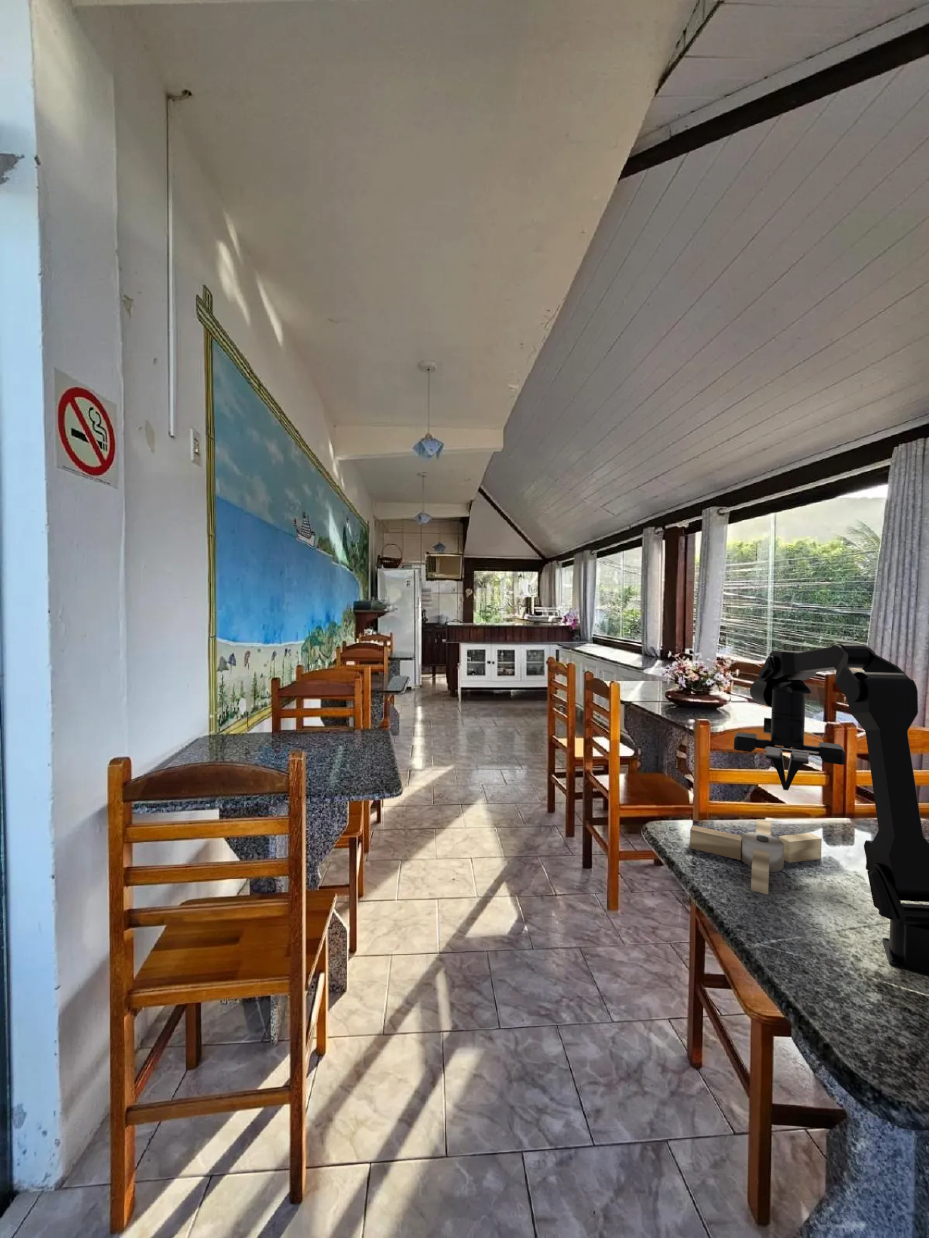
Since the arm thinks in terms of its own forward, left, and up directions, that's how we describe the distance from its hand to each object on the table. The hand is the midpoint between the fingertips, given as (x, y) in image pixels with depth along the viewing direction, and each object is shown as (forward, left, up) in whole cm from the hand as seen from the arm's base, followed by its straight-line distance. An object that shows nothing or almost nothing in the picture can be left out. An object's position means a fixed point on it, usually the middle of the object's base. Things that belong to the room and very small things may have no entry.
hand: (785, 789), depth 105 cm
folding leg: (-4, -3, -12) cm, 13 cm away
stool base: (-10, +8, -12) cm, 18 cm away
